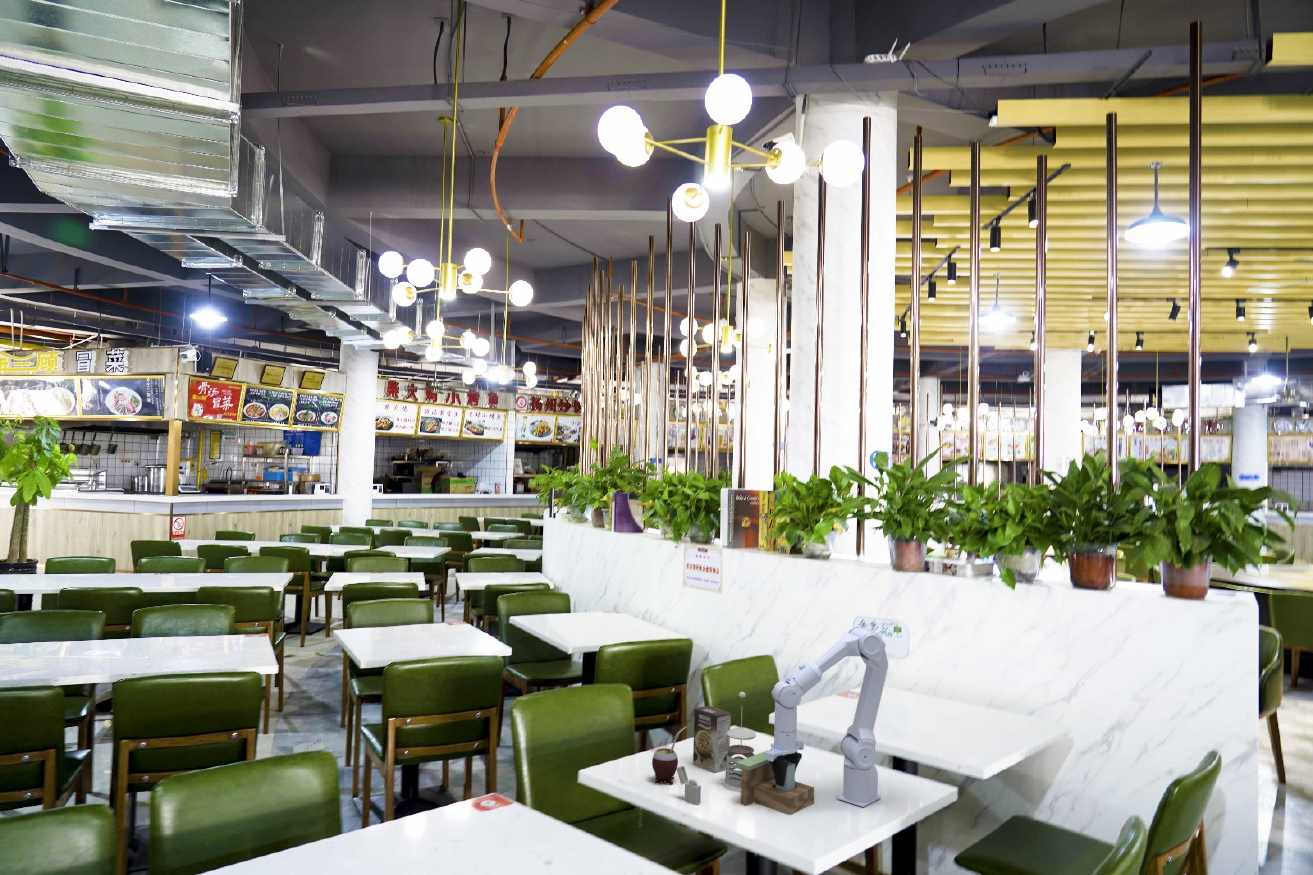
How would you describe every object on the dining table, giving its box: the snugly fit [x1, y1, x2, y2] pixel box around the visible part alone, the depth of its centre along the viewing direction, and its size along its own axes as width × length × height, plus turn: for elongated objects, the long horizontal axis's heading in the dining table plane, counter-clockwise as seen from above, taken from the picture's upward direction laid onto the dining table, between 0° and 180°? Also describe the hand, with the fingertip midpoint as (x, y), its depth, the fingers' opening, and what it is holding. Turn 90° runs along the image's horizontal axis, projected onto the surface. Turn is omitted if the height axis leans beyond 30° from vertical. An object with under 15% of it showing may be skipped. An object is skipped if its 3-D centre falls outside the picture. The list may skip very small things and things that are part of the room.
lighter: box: [676, 765, 702, 806], centre depth 213 cm, size 7×2×8 cm, turn 48°
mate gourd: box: [651, 725, 687, 785], centre depth 227 cm, size 8×8×15 cm
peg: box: [776, 762, 796, 792], centre depth 213 cm, size 4×4×7 cm
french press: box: [716, 691, 757, 793], centre depth 226 cm, size 10×12×25 cm
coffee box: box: [692, 705, 732, 774], centre depth 239 cm, size 9×6×16 cm
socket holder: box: [735, 749, 815, 816], centre depth 215 cm, size 18×14×10 cm
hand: (784, 783), depth 214 cm, fingers closed on peg, 3 cm apart
